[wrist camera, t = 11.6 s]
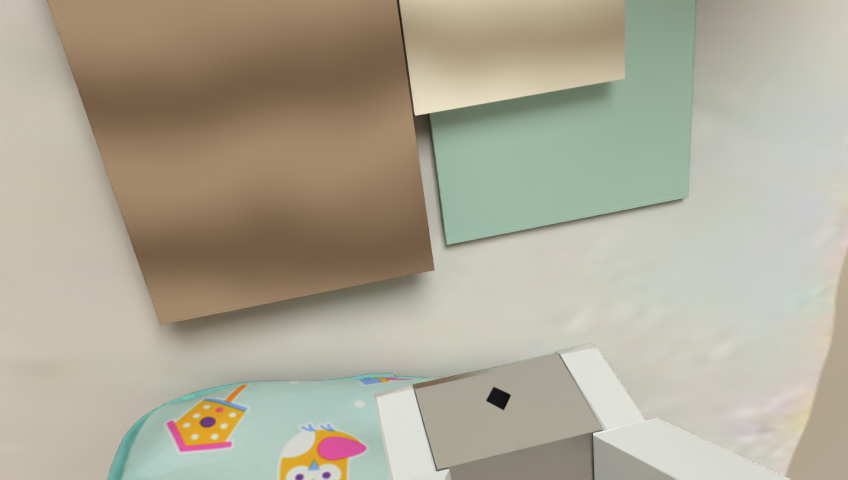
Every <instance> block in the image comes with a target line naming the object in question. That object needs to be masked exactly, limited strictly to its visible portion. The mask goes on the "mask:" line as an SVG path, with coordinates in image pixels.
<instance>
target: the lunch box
mask: <svg viewBox="0 0 848 480" xmlns="http://www.w3.org/2000/svg"><path fill="white" fill-rule="evenodd" d="M440 378H445V377H439V378H429V377H404V376H395V375H393V374H392V373H381V374H365V375H360V376H355V377H349V378H340V379H331V380H317V381H267V382H245V383H237V384H230V385H225V386H220V387H215V388H210V389H206V390H202V391H198V392H194V393H191V394H188V395H185V396H183V397H180V398H177V399H174V400H172V401H170V402H168V403H165V404H163V405H161V406H160V407H158V408H156V409H154V410H153V411H151V412H149V413H148V414H146V415H145V416H143V417H142V418H141V419H140V420H139V421H138V422H136V423H135V424H134V425H133V426H132V428H131V429H130V430H129V431H128V432H127V434H126V435H125V437H124V438H123V440H122V442H121V444H120V446H119V448H118V451H117V453H116V455H115V458H114V460H113V462H112V465H111V468H110V471H109V474H108V477H107V480H390V475H389V470H388V465H387V460H386V455H385V450H384V445H383V440H382V435H381V430H380V425H379V420H378V415H377V410H376V405H375V393H377V392H381V391H386V390H390V389H395V388H400V387H404V386H409V385H410V386H412V388H413V384H416V383H421V382H426V381H431V380H436V379H440Z"/></svg>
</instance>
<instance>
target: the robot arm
mask: <svg viewBox="0 0 848 480" xmlns="http://www.w3.org/2000/svg"><path fill="white" fill-rule="evenodd" d="M375 405H376V410H377V415H378V420H379V425H380V430H381V435H382V440H383V445H384V450H385V455H386V460H387V465H388V470H389V475H390V480H791V479H789V478H787V477H785V476H783V475H780V474H778V473H776V472H774V471H772V470H770V469H767V468H765V467H763V466H761V465H759V464H757V463H754V462H752V461H750V460H748V459H746V458H744V457H741V456H739V455H737V454H735V453H733V452H731V451H728V450H726V449H724V448H722V447H720V446H717V445H715V444H713V443H711V442H709V441H707V440H704V439H702V438H700V437H698V436H696V435H694V434H691V433H689V432H687V431H685V430H683V429H681V428H678V427H676V426H674V425H672V424H670V423H668V422H665V421H663V420H661V419H659V418H655V419H651V420H646V419H645V417H644V416H643V414H642V413H641V411H640V410H639V408H638V407H637V405H636V404H635V402H634V401H633V400H632V398H631V397H630V395H629V394H628V392H627V391H626V389H625V388H624V386H623V385H622V383H621V382H620V380H619V379H618V377H617V376H616V375H615V373H614V372H613V370H612V369H611V367H610V366H609V364H608V363H607V361H606V360H605V358H604V357H603V355H602V354H601V353H600V351H599V350H598V348H597V347H596V346H595V345H593V344H591V343H588V344H584V345H580V346H576V347H572V348H568V349H564V350H560V351H556V352H555V353H553V354H548V355H544V356H540V357H535V358H531V359H527V360H523V361H519V362H514V363H510V364H506V365H502V366H498V367H493V368H489V369H484V370H479V371H474V372H469V373H464V374H460V375H455V376H450V377H445V378H440V379H436V380H431V381H426V382H421V383H416V384H413V388H412V386H410V385H409V386H404V387H400V388H395V389H390V390H386V391H381V392H377V393H375Z"/></svg>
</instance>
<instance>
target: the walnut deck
mask: <svg viewBox="0 0 848 480" xmlns="http://www.w3.org/2000/svg"><path fill="white" fill-rule="evenodd" d="M47 1H48V4H49V7H50V10H51V13H52V16H53V18H54V21H55V24H56V27H57V30H58V33H59V36H60V39H61V41H62V44H63V47H64V50H65V53H66V56H67V59H68V62H69V64H70V67H71V70H72V73H73V76H74V79H75V82H76V84H77V87H78V90H79V93H80V96H81V99H82V102H83V105H84V107H85V110H86V113H87V116H88V119H89V122H90V125H91V128H92V130H93V133H94V136H95V139H96V142H97V145H98V148H99V151H100V153H101V156H102V159H103V162H104V165H105V168H106V171H107V173H108V176H109V179H110V182H111V185H112V188H113V191H114V194H115V196H116V199H117V202H118V205H119V208H120V211H121V214H122V217H123V219H124V222H125V225H126V228H127V231H128V234H129V237H130V240H131V242H132V245H133V248H134V251H135V254H136V257H137V260H138V262H139V265H140V268H141V271H142V274H143V277H144V280H145V283H146V285H147V288H148V291H149V294H150V297H151V300H152V303H153V306H154V308H155V311H156V314H157V317H158V320H159V323H160V325H164V324H169V323H174V322H179V321H184V320H189V319H194V318H199V317H203V316H208V315H213V314H218V313H223V312H228V311H233V310H238V309H243V308H248V307H253V306H258V305H263V304H268V303H273V302H278V301H283V300H288V299H293V298H298V297H303V296H308V295H313V294H318V293H323V292H328V291H333V290H338V289H343V288H348V287H353V286H358V285H363V284H368V283H373V282H378V281H383V280H388V279H393V278H398V277H403V276H408V275H413V274H418V273H423V272H428V271H433V270H434V264H433V256H432V249H431V242H430V235H429V228H428V221H427V214H426V206H425V199H424V192H423V185H422V178H421V171H420V164H419V156H418V149H417V142H416V135H415V128H414V121H413V114H412V106H411V99H410V92H409V85H408V78H407V71H406V64H405V56H404V49H403V42H402V35H401V28H400V21H399V13H398V6H397V0H47Z"/></svg>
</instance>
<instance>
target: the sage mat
mask: <svg viewBox="0 0 848 480" xmlns="http://www.w3.org/2000/svg"><path fill="white" fill-rule="evenodd" d="M695 11H696V0H625V79H620V80H614V81H609V82H603V83H597V84H592V85H586V86H580V87H575V88H569V89H563V90H558V91H552V92H546V93H541V94H535V95H529V96H524V97H518V98H513V99H507V100H501V101H496V102H490V103H484V104H479V105H473V106H467V107H462V108H456V109H450V110H445V111H439V112H433V113H429V120H430V127H431V135H432V143H433V151H434V158H435V166H436V174H437V181H438V189H439V197H440V205H441V212H442V220H443V228H444V236H445V242H446V244H447V245H449V244H454V243H459V242H464V241H469V240H474V239H479V238H484V237H490V236H495V235H500V234H505V233H510V232H515V231H520V230H525V229H530V228H535V227H540V226H545V225H550V224H555V223H560V222H566V221H571V220H576V219H581V218H586V217H591V216H596V215H601V214H606V213H611V212H616V211H621V210H626V209H631V208H636V207H642V206H647V205H652V204H657V203H662V202H667V201H672V200H677V199H682V198H687V197H688V193H689V167H690V141H691V115H692V89H693V63H694V37H695Z"/></svg>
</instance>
